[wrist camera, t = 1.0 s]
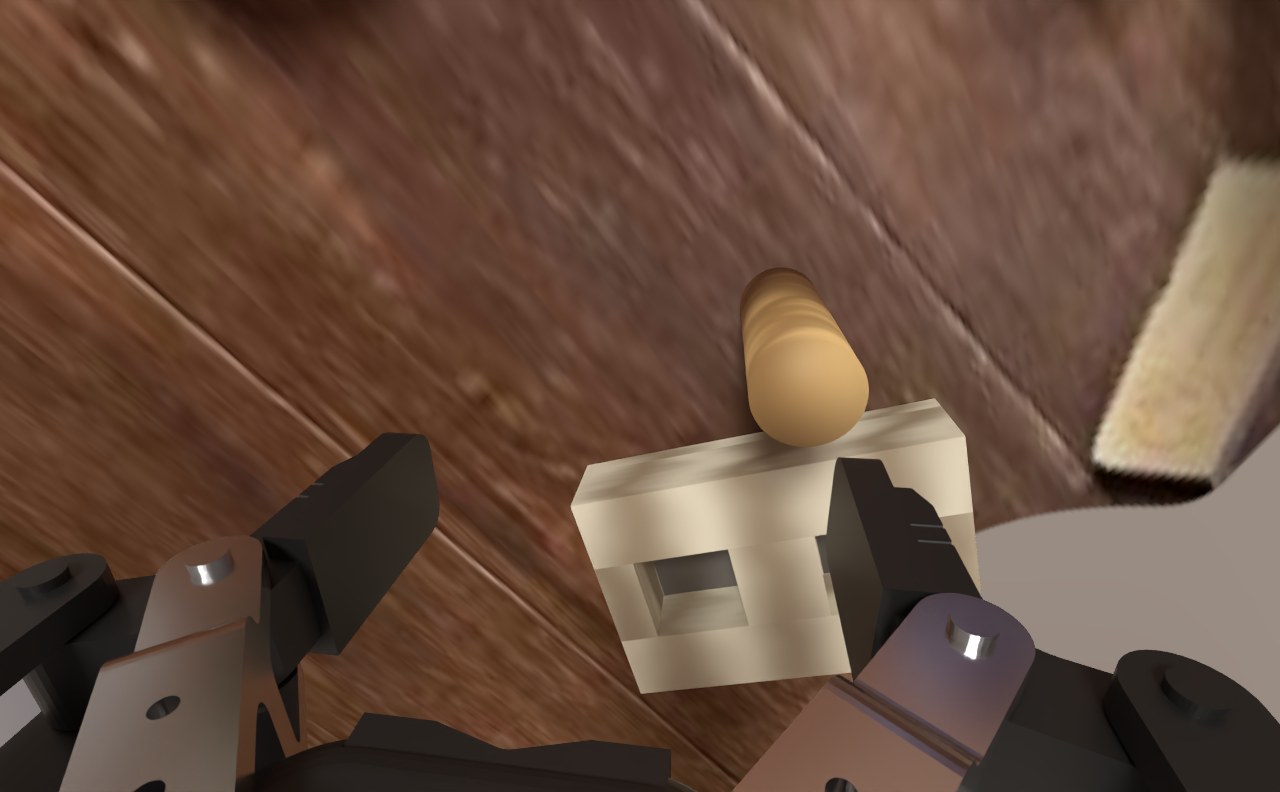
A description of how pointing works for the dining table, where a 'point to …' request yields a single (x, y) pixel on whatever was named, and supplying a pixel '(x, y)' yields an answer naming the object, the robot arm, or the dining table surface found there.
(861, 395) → the peg
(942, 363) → the dining table surface
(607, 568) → the hole block
